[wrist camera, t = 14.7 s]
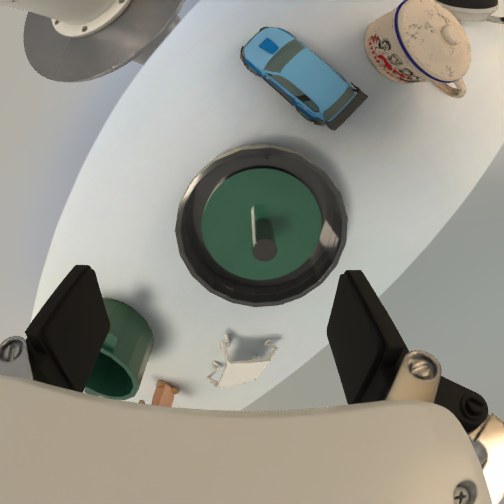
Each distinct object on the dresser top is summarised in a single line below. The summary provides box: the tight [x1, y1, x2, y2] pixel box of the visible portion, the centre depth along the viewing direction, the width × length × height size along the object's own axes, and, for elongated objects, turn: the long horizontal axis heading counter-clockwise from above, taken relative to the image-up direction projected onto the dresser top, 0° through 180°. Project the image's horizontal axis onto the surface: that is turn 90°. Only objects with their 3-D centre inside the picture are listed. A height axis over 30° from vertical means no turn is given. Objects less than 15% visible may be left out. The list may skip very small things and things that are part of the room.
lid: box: [201, 168, 322, 280], centre depth 30 cm, size 14×14×7 cm
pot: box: [85, 299, 153, 400], centre depth 37 cm, size 13×18×10 cm
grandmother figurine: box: [139, 381, 179, 407], centre depth 42 cm, size 8×4×13 cm, turn 59°
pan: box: [175, 144, 347, 307], centre depth 32 cm, size 18×18×4 cm
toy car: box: [240, 27, 368, 130], centre depth 23 cm, size 6×12×6 cm, turn 50°
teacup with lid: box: [364, 0, 471, 98], centre depth 19 cm, size 12×9×12 cm
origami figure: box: [206, 333, 278, 388], centre depth 41 cm, size 12×8×5 cm
